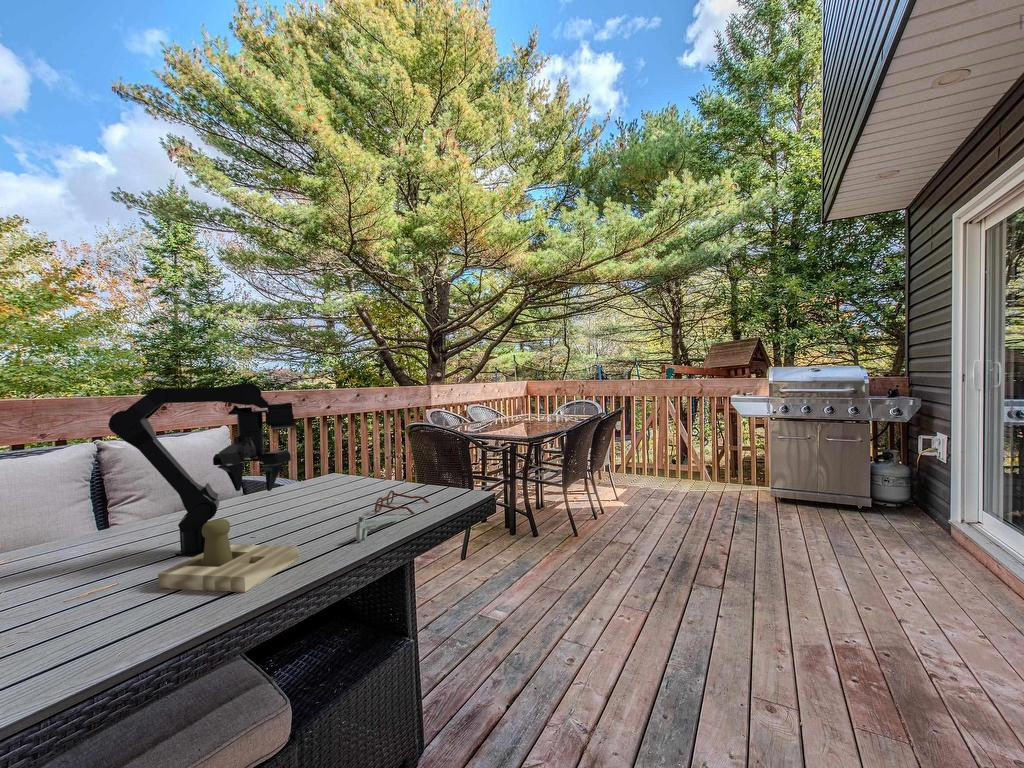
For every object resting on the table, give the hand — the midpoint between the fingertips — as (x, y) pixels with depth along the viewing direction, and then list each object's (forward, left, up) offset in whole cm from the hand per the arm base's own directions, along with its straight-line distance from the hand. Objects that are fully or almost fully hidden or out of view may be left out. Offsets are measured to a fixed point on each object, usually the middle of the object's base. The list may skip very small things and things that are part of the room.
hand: (253, 490), depth 118 cm
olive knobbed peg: (+6, -19, -13) cm, 24 cm away
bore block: (+10, -19, -13) cm, 25 cm away
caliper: (+30, +10, -14) cm, 34 cm away
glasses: (+27, +30, -14) cm, 43 cm away
